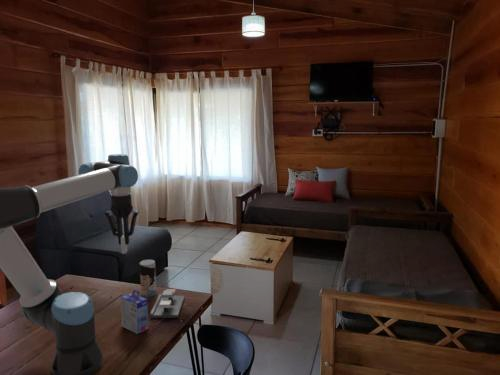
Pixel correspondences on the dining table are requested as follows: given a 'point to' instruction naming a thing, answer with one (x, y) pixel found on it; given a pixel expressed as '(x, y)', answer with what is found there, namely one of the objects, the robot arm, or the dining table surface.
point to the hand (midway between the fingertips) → (124, 252)
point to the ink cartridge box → (134, 312)
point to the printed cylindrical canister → (148, 278)
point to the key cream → (165, 303)
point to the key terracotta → (173, 291)
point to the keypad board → (167, 312)
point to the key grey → (167, 294)
